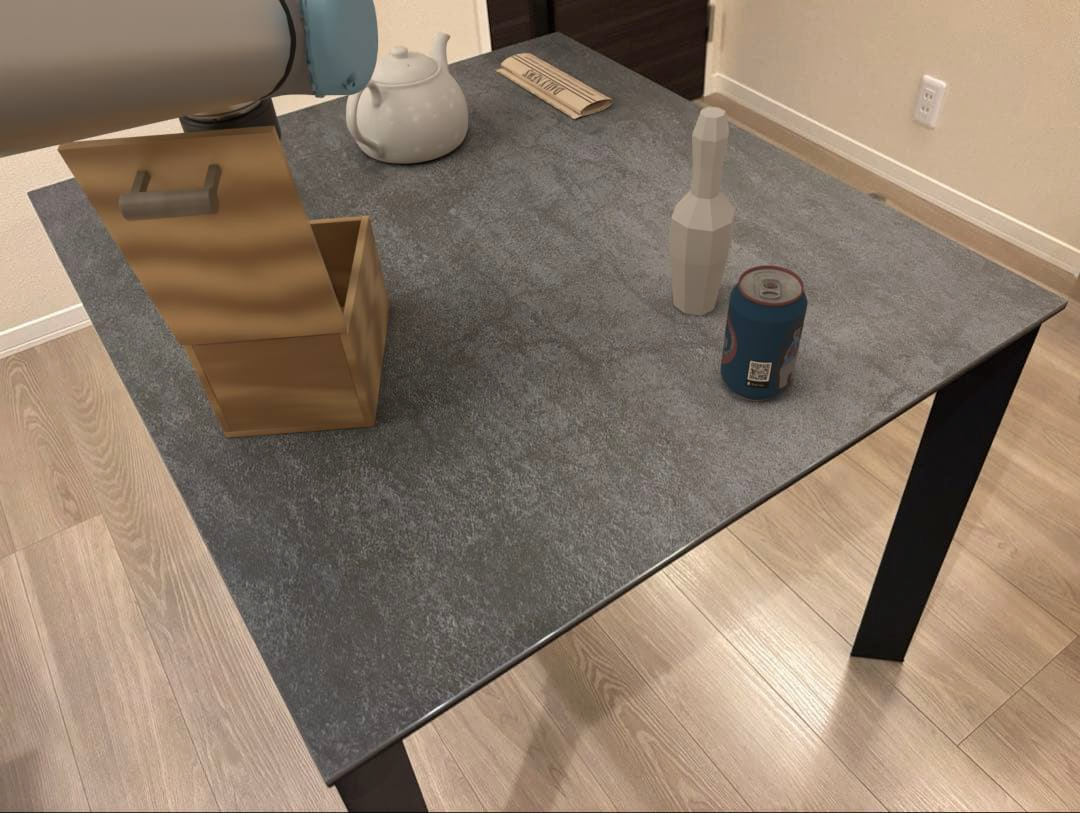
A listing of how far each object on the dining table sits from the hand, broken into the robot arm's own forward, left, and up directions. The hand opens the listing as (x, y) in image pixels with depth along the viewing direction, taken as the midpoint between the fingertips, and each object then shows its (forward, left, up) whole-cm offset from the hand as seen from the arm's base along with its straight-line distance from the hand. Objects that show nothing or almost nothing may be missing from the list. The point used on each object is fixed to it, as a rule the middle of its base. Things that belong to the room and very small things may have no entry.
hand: (297, 321), depth 83 cm
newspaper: (+71, -10, -7) cm, 72 cm away
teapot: (+51, +7, -7) cm, 51 cm away
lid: (-10, -3, +16) cm, 19 cm away
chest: (+1, 0, -7) cm, 7 cm away
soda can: (+6, -45, -7) cm, 46 cm away
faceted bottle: (+18, -38, -7) cm, 43 cm away
